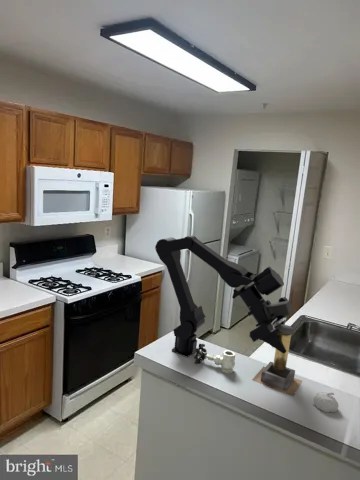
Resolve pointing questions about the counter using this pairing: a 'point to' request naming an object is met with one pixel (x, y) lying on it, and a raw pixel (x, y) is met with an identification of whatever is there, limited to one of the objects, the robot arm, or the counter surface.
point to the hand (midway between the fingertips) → (287, 350)
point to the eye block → (278, 379)
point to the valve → (216, 358)
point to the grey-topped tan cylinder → (285, 337)
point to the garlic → (326, 402)
